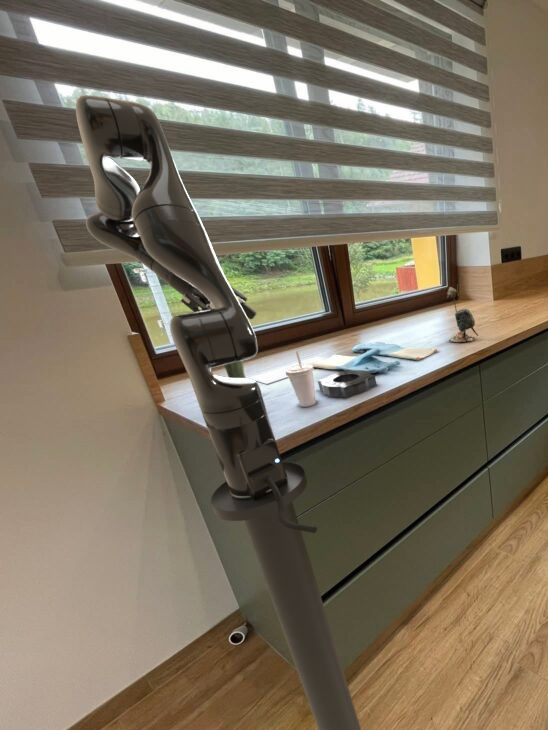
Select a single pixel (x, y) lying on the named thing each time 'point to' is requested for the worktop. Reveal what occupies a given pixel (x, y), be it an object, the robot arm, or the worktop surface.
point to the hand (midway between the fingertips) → (242, 320)
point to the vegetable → (235, 370)
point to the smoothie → (302, 382)
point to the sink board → (347, 383)
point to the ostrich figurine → (462, 321)
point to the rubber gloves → (368, 361)
